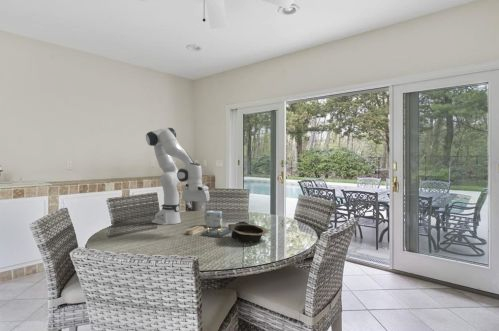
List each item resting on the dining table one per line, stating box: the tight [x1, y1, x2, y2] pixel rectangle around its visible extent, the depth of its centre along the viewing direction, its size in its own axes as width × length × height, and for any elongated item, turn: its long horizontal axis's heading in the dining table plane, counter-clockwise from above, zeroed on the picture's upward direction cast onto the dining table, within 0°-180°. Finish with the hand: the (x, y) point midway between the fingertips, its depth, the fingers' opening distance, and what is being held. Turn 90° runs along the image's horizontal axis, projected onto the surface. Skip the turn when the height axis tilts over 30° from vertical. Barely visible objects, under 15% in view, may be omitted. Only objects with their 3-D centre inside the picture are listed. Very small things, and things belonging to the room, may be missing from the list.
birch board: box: [185, 225, 205, 236], centre depth 195 cm, size 5×13×3 cm, turn 156°
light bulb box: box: [205, 210, 223, 228], centre depth 213 cm, size 11×7×11 cm, turn 84°
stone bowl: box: [227, 221, 269, 244], centre depth 178 cm, size 25×25×9 cm
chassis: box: [201, 223, 233, 239], centre depth 194 cm, size 14×21×4 cm, turn 156°
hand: (195, 207), depth 194 cm, fingers open, 8 cm apart
